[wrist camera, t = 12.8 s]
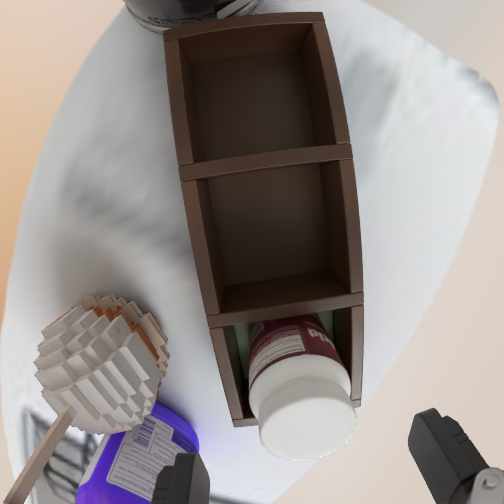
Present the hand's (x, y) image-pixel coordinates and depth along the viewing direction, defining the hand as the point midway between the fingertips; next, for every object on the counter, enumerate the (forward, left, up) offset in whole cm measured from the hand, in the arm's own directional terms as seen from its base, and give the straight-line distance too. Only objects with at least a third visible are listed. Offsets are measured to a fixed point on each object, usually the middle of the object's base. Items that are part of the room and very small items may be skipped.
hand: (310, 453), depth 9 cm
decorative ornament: (+2, -11, -11) cm, 16 cm away
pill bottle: (0, 0, -10) cm, 10 cm away
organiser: (-7, -1, -11) cm, 13 cm away
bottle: (+10, -9, -11) cm, 18 cm away
